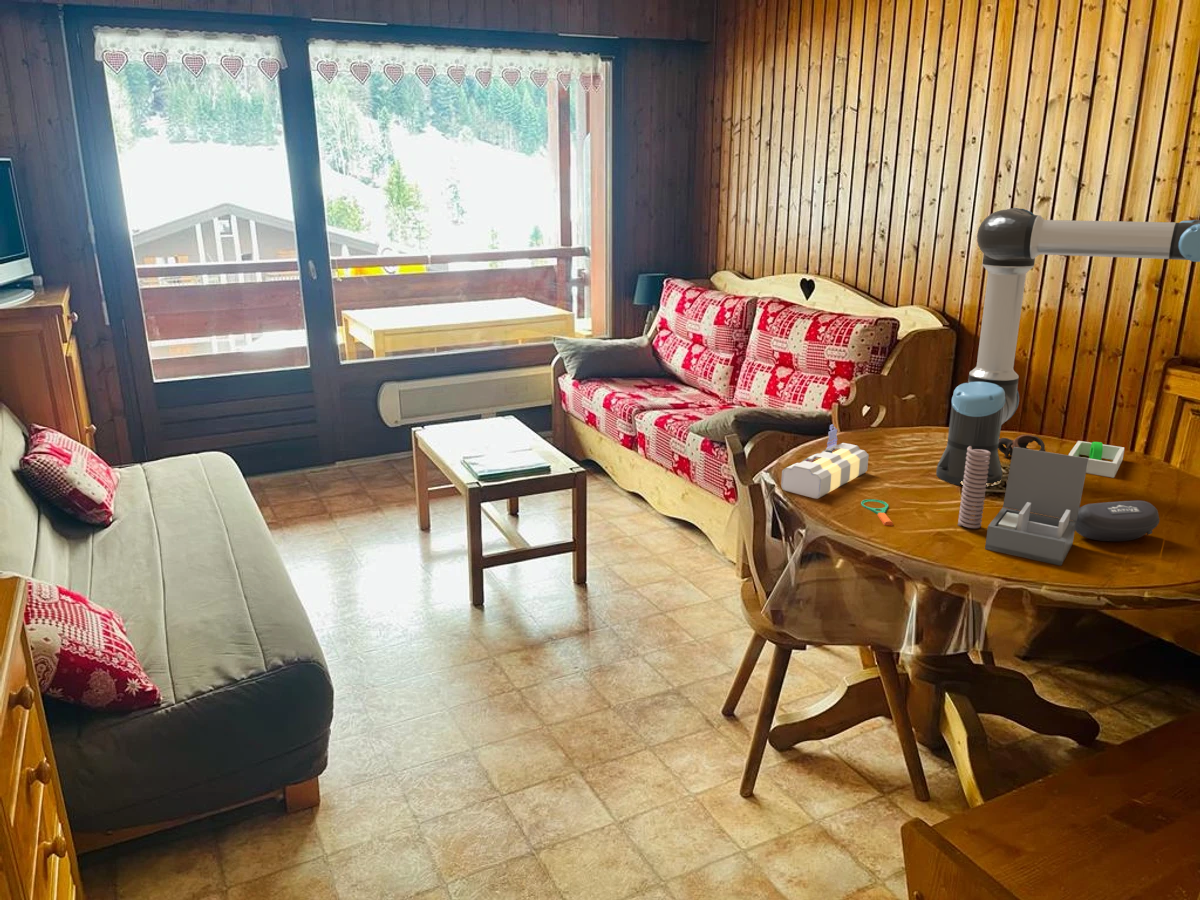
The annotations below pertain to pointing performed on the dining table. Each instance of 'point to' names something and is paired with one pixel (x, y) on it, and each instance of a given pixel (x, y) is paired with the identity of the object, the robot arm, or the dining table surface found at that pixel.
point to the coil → (974, 487)
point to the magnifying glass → (881, 513)
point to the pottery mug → (1018, 443)
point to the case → (1039, 506)
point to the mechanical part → (1096, 450)
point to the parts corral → (1098, 465)
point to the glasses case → (1116, 520)
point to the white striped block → (825, 469)
